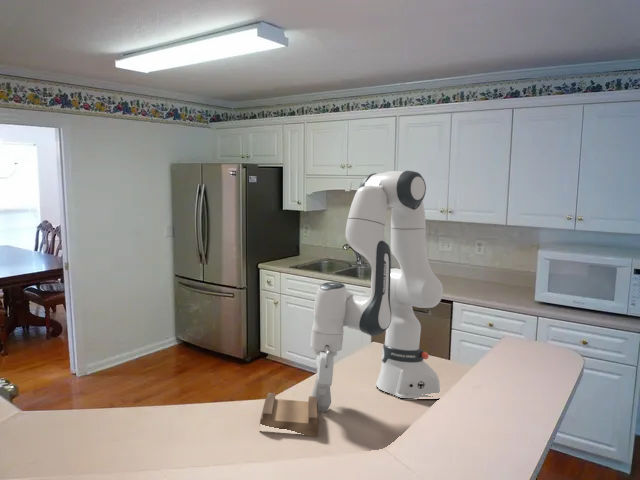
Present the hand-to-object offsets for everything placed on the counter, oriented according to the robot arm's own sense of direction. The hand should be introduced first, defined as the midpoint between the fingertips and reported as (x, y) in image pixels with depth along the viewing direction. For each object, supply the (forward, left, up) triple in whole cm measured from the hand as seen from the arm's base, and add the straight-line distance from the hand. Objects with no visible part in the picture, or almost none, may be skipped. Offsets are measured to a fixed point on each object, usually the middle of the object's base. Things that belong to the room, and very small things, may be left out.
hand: (321, 391), depth 128 cm
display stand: (+8, +10, -5) cm, 14 cm away
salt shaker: (0, 0, -5) cm, 5 cm away
